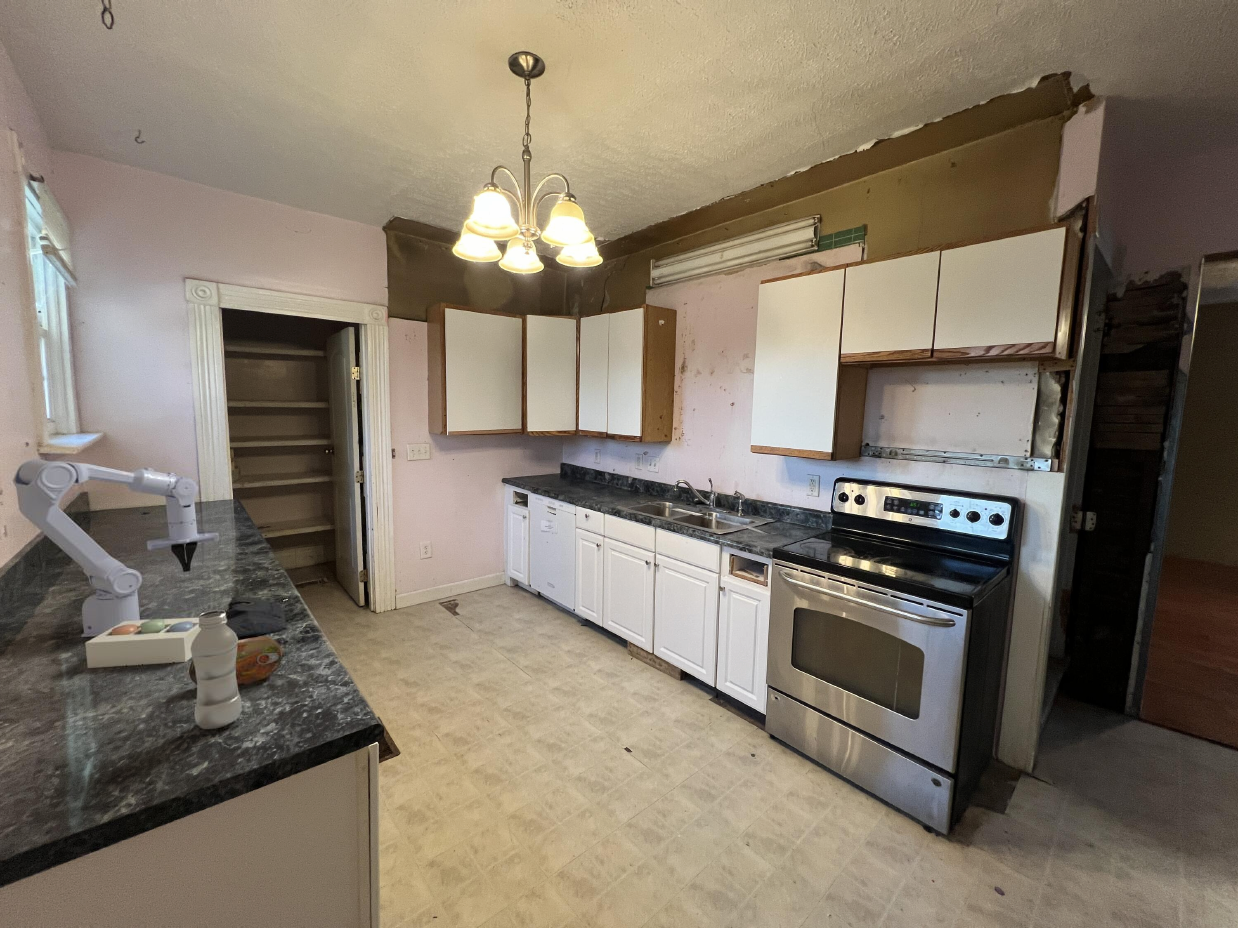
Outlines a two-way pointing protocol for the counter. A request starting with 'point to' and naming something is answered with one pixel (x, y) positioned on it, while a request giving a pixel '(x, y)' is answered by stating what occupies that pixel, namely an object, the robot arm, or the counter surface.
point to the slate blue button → (181, 626)
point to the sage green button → (152, 626)
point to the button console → (142, 646)
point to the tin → (252, 659)
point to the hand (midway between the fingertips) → (187, 570)
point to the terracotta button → (124, 629)
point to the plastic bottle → (215, 672)
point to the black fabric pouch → (254, 616)
